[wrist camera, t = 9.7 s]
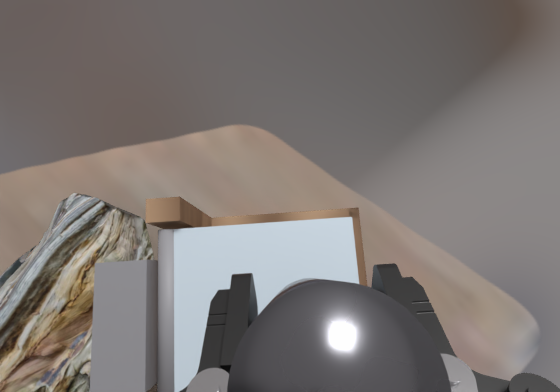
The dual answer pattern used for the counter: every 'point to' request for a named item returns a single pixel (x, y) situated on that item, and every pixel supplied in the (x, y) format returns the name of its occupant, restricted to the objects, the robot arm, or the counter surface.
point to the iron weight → (336, 344)
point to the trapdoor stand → (243, 220)
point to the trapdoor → (199, 293)
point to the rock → (62, 295)
